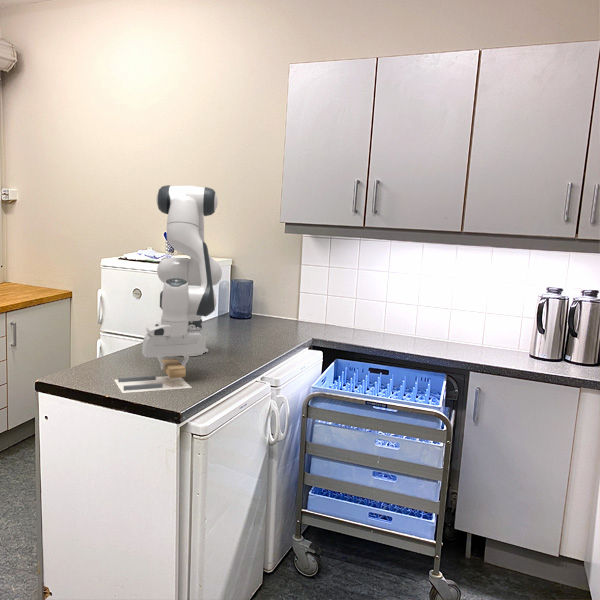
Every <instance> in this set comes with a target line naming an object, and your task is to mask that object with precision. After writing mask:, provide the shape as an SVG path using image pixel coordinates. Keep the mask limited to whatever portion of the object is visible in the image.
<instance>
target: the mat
mask: <svg viewBox="0 0 600 600" xmlns="http://www.w3.org/2000/svg"><path fill="white" fill-rule="evenodd" d="M113 381H114V383H115V384H116V385H117V387H118V388H119V390H120V392H121V393H122V394H126V393H127V394H129V393H140V392H141V393H143V392H155V391H168V390H179V389H180V390H181V389H192V388H193V387H192V386H191V385H190V384H188V382H186V380H185V379H184V378H183V377H180V378H170V377H169V376H168V375H166V376H156V375H142V376H141V375H140V376H127V377H125V376H123V377H118V379H117V378H116V379H114V380H113Z"/></svg>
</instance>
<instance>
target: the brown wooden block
mask: <svg viewBox="0 0 600 600" xmlns="http://www.w3.org/2000/svg"><path fill="white" fill-rule="evenodd" d="M162 362H163V363H165V364H166V370H162V371H163V372H164V373H165V374H166V376H169V377H170V378H180V377H181V378H186V373H187V372H186V371H187V370H186V369H187V368H186V366H185V367H184V366H183V365H182V364H181V363H180V361H179V360H178V359H177V358H170V359H169V358H168V359H167V358H166V359H165V358H163V360H162Z"/></svg>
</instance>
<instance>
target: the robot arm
mask: <svg viewBox="0 0 600 600" xmlns="http://www.w3.org/2000/svg"><path fill="white" fill-rule="evenodd" d="M218 200H219V199H218V197H217V193H216V191H215V190H214V189H213V188H211V187H206V186H204V187H201V186H196V185H188V184H187V185H172V186H171V185H169V184H167V185H162V186H161V187H160V188H159V189H158V192H157V194H156V205H157V208H158V210H159V211H160V212H161V213H163V214H166V215H167V220H166V241H167V242H168V244H169V246H170V247H171V248H172V249H174V250H175V251H177V252H178V253H181V254H182V255H186V256H187V257H189V258H184V257H167V258H162V259H161V261H160V262H159V263H158V265H157V269H156V273H157V277H158V279H159V280H160V282H161V283H163V289H162V290H161V291H160V293H159V308H160V309H161V310H162V314H161V317H160V321H159V322H155V323H153V324H150V325H147V326H146V328H145V329H146V334H145V335H144V337H143V341H142V348H141V353H142V355H143V356H144V357H145V358H157V360H158V361H159V363H160V370H162V371H163V370H166V364H165V363H163V362H162V360H163V359H164V358H166V357H183V360H182V361H181V362H180V361H179V362H180V363H181V364H182V365H183V366H184V367H185V368H186V364H187V363H188V361H189V360H190V357H194V356H195V357H197V356H201V355H204V354H205V352H206V353H208V352H209V348H207V347H206V332H205V330H204V329H203V323H204V322H203V319H202V317H205V318H207V317H208V316H210V315H211V314H213V313H214V312H215V310H216V307H217V299H216V297H217V296H216V293H215V289H214V287H213V286H216V285H218V283H220V281H221V279H222V276H223V271H222V268H221V267H222V266H221V265H220V264H219V262H217V261H216V260H214V258H212V256H211V255H210V254H209V249H208V245H207V243H206V242H205V219H204V217H209V216H212V215H213V214H215V212H216V210H217V208H218V205H219V204H218V202H219V201H218ZM203 353H204V354H203Z"/></svg>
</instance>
